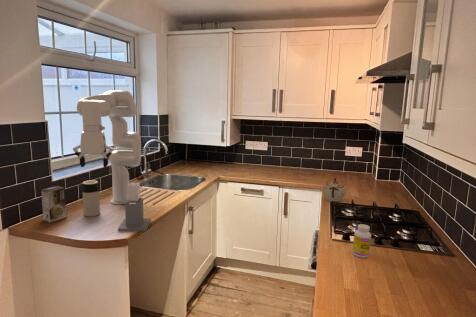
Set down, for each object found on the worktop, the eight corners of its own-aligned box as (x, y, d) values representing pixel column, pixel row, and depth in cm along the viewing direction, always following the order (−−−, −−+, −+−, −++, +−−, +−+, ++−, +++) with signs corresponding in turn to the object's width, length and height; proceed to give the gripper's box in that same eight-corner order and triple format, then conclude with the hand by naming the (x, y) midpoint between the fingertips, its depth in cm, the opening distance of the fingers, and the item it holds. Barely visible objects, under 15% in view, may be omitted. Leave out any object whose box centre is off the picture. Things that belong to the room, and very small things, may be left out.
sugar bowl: (323, 194, 222) (325, 174, 219) (346, 197, 217) (348, 176, 214) (319, 202, 204) (321, 180, 202) (343, 206, 199) (346, 183, 196)
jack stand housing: (124, 221, 162) (123, 196, 160) (150, 221, 164) (150, 196, 161) (117, 231, 149) (116, 204, 147) (146, 231, 151) (145, 204, 148)
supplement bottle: (358, 259, 131) (361, 229, 129) (348, 251, 137) (351, 223, 135) (372, 257, 133) (375, 228, 130) (362, 250, 139) (365, 222, 137)
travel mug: (100, 215, 169) (99, 183, 165) (84, 217, 165) (82, 184, 162) (99, 211, 176) (97, 179, 172) (83, 212, 172) (81, 180, 169)
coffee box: (60, 214, 168) (58, 185, 165) (67, 217, 165) (65, 187, 162) (42, 219, 160) (40, 189, 157) (49, 222, 157) (47, 191, 154)
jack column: (131, 221, 158) (130, 182, 155) (140, 221, 159) (139, 182, 155) (128, 224, 154) (127, 185, 150) (138, 224, 154) (137, 185, 151)
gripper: (115, 128, 145) (116, 165, 148) (75, 127, 143) (77, 164, 146) (110, 130, 138) (111, 168, 141) (68, 129, 136) (70, 168, 139)
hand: (94, 166), depth 143 cm, fingers open, 9 cm apart
